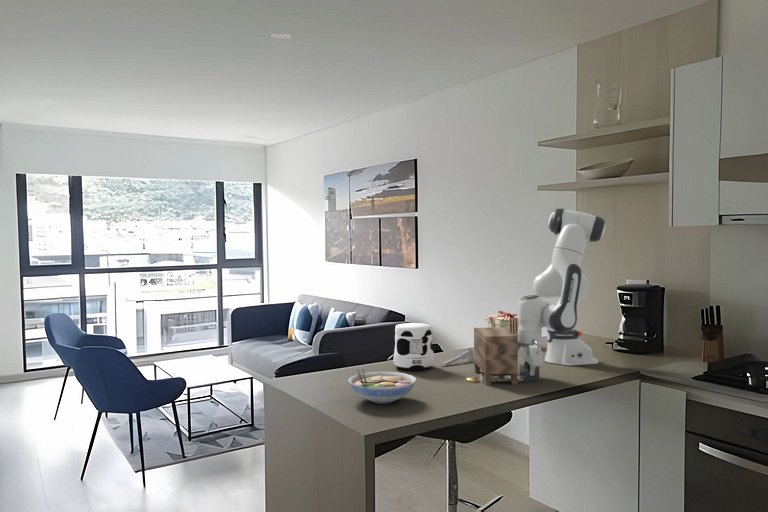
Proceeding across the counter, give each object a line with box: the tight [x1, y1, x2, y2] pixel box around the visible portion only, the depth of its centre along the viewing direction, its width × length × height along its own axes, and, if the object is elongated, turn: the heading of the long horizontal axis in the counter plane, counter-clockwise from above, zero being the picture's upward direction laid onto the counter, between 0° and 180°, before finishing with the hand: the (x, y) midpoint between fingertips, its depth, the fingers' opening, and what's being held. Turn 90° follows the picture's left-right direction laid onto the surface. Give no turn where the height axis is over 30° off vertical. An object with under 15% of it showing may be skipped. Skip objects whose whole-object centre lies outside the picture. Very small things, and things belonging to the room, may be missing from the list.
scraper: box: [479, 362, 540, 383], centre depth 223 cm, size 22×9×6 cm, turn 92°
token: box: [465, 376, 480, 383], centre depth 222 cm, size 5×5×1 cm
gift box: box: [484, 310, 519, 335], centre depth 295 cm, size 17×18×17 cm
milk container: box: [392, 322, 435, 371], centre depth 245 cm, size 17×17×18 cm
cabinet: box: [473, 327, 519, 386], centre depth 226 cm, size 12×23×18 cm, turn 2°
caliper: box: [441, 347, 474, 365], centre depth 254 cm, size 20×1×6 cm, turn 130°
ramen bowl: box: [347, 368, 417, 405], centre depth 195 cm, size 25×23×8 cm
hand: (529, 373), depth 223 cm, fingers closed on scraper, 3 cm apart
